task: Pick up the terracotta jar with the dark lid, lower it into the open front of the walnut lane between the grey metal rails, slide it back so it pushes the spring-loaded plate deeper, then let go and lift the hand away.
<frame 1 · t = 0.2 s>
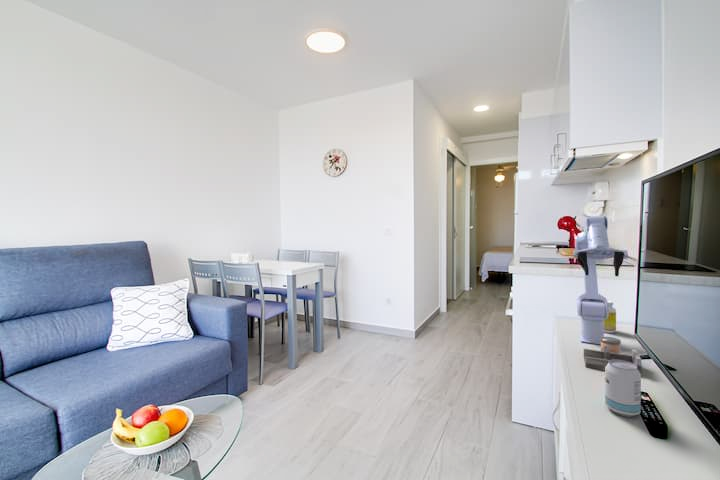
hand: (601, 274, 103), 31 cm above the tv stand, tool tilted 45°, fingers open, 7 cm apart
beverage can: (622, 411, 81), on the tv stand
jar: (610, 356, 113), on the tv stand
supplement bottle: (606, 331, 139), on the tv stand
pusher plate: (606, 355, 107), point 3 cm above the tv stand, slide at 0.0 cm
lane: (610, 365, 106), on the tv stand
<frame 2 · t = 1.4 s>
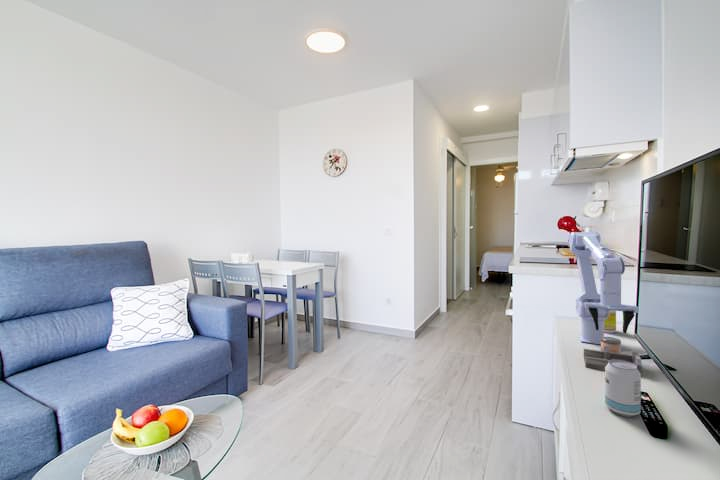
hand: (610, 330, 113), 9 cm above the tv stand, tool pointing down, fingers open, 7 cm apart
nothing on the tv stand moved.
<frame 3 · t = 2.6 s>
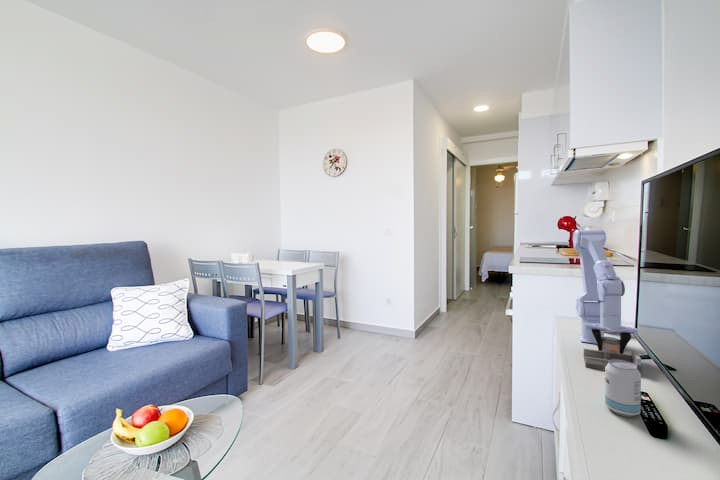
hand: (610, 352, 113), 1 cm above the tv stand, tool pointing down, fingers closed on jar, 5 cm apart
jar: (610, 356, 113), on the tv stand, touching gripper
everything else where it was.
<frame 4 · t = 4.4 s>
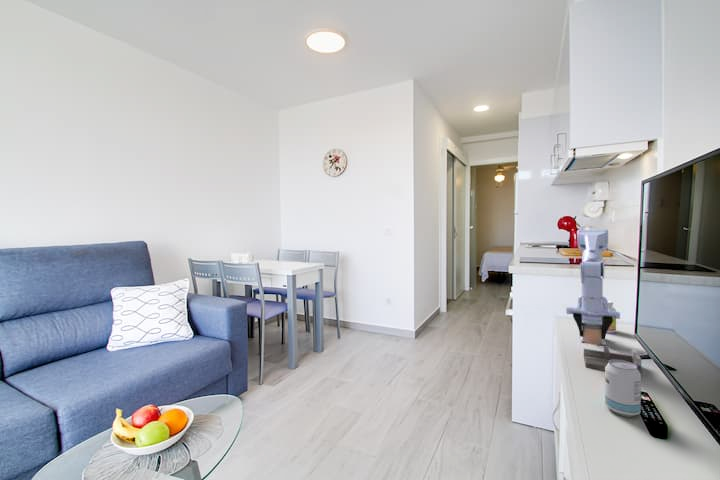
hand: (592, 337, 109), 8 cm above the tv stand, tool pointing down, fingers closed on jar, 5 cm apart
jar: (592, 341, 109), point 7 cm above the tv stand, touching gripper
everything else where it was.
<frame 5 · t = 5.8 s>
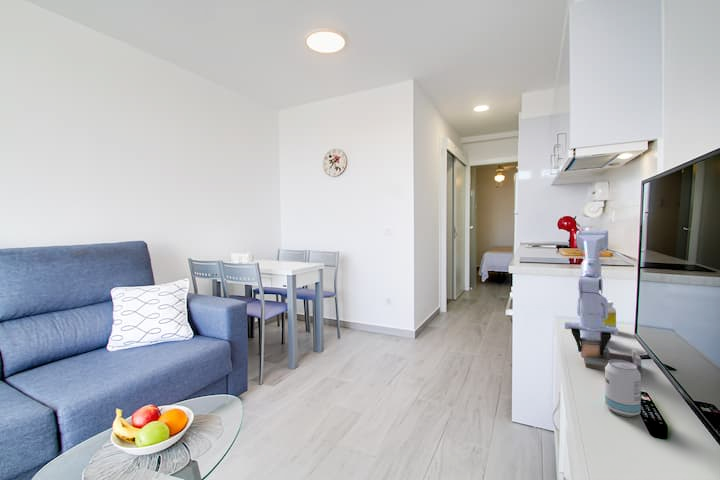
hand: (590, 352, 109), 3 cm above the tv stand, tool pointing down, fingers closed on jar, 5 cm apart
jar: (590, 357, 109), point 2 cm above the tv stand, touching gripper
pusher plate: (606, 355, 107), point 3 cm above the tv stand, slide at 0.1 cm, touching gripper
everything else where it was.
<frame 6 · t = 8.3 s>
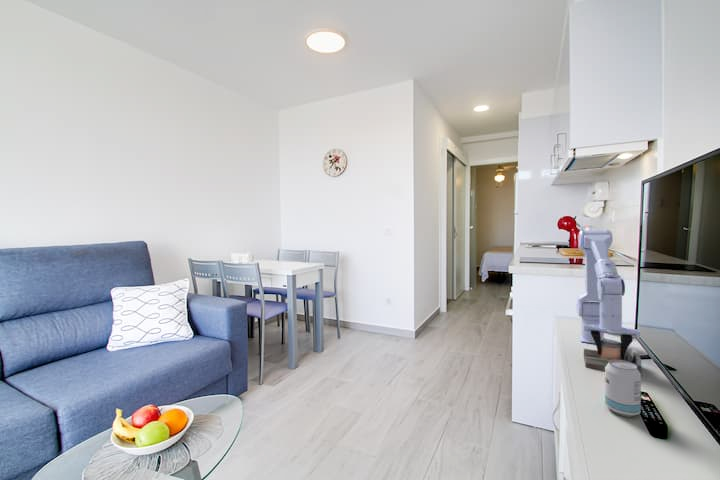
hand: (610, 355, 106), 3 cm above the tv stand, tool pointing down, fingers closed on jar, 5 cm apart
jar: (610, 360, 106), point 2 cm above the tv stand, touching gripper
pusher plate: (627, 358, 104), point 3 cm above the tv stand, slide at 5.4 cm, touching gripper
everything else where it was.
when the fingers open (3 cm above the tv stand, at t = 8.5 s): jar stays where it is, resting on lane.
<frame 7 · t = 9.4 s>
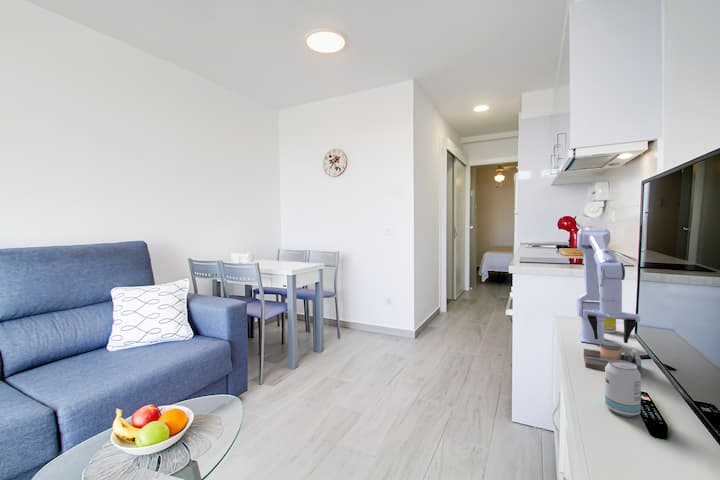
hand: (610, 340, 106), 8 cm above the tv stand, tool pointing down, fingers open, 7 cm apart
jar: (610, 362, 106), point 1 cm above the tv stand, touching lane
pusher plate: (627, 358, 104), point 3 cm above the tv stand, slide at 5.4 cm
everything else where it was.
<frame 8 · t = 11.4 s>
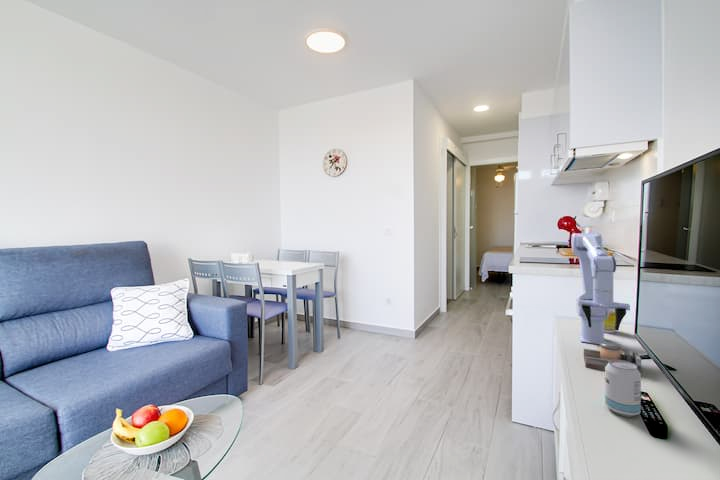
hand: (603, 328, 115), 9 cm above the tv stand, tool pointing down, fingers open, 7 cm apart
nothing on the tv stand moved.
at the end: jar 0.0 cm from the target spot, point 1.0 cm above the tv stand; pusher plate slide at 5.3 cm; jar tilted 0° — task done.
